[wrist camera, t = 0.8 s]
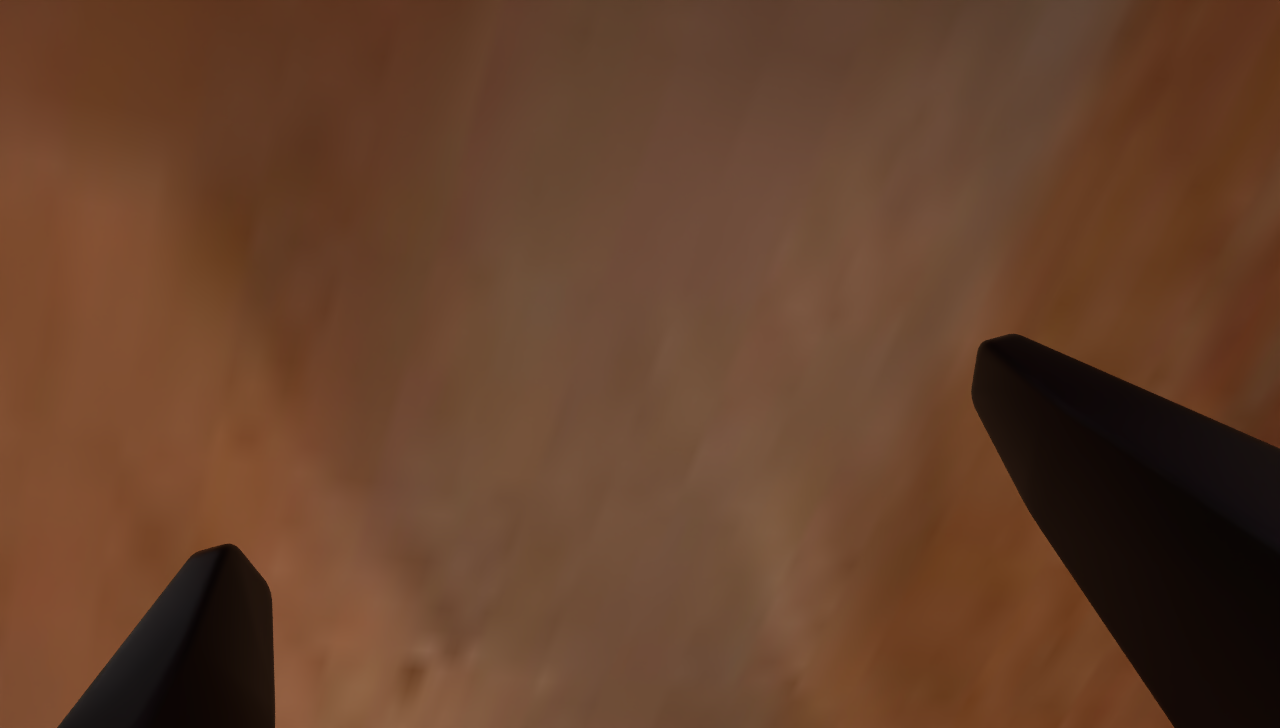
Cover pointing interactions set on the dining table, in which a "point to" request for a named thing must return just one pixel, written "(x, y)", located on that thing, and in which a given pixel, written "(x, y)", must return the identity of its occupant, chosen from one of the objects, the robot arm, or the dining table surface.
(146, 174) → the dining table surface
